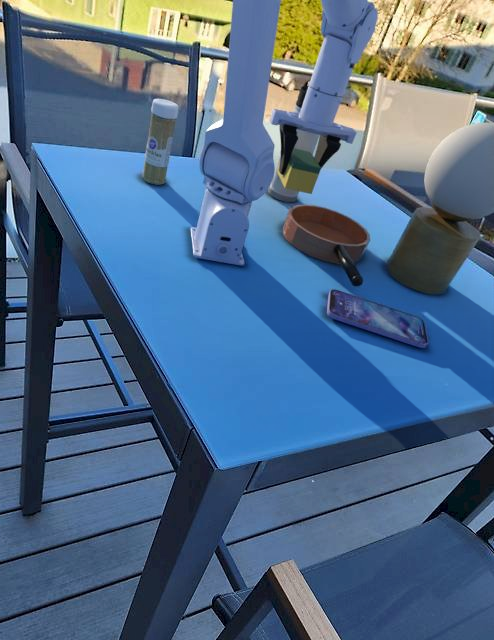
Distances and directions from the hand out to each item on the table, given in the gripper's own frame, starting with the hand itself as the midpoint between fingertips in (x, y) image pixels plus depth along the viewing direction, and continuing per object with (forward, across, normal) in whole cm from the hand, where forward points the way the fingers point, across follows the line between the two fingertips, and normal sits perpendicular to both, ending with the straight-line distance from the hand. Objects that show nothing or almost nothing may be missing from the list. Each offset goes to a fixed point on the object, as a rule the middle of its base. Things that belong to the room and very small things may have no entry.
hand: (296, 175), depth 87 cm
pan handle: (+7, -7, +19) cm, 21 cm away
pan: (+8, -7, +6) cm, 12 cm away
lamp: (+9, -24, +11) cm, 28 cm away
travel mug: (+9, -3, -13) cm, 16 cm away
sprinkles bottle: (+9, +24, -7) cm, 27 cm away
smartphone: (+8, -9, +30) cm, 33 cm away
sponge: (+1, 0, 0) cm, 1 cm away
